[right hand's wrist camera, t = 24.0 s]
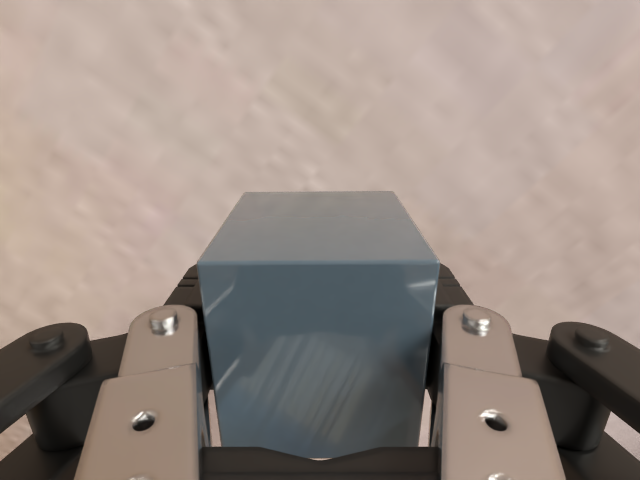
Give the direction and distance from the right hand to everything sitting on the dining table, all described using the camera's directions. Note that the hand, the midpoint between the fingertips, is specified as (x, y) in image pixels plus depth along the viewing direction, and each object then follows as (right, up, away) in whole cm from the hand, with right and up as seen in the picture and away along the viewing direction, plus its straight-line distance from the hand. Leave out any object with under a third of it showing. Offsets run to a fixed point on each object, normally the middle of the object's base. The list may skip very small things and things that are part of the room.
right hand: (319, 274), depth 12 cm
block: (0, 0, 0) cm, 0 cm away
